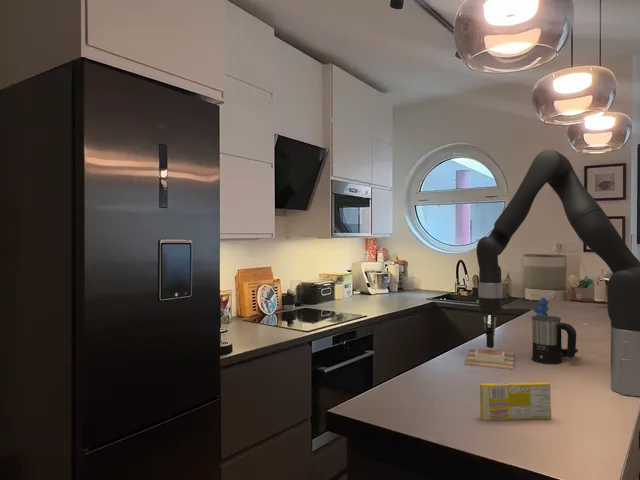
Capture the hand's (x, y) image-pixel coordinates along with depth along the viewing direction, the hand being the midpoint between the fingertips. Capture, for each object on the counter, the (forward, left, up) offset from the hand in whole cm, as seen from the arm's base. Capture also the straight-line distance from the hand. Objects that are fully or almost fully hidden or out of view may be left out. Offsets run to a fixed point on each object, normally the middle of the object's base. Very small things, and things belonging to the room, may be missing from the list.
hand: (490, 347), depth 158 cm
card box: (+4, 0, -3) cm, 5 cm away
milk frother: (+12, -20, -5) cm, 24 cm away
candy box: (-49, -8, -5) cm, 50 cm away
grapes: (+84, -19, -5) cm, 86 cm away
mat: (+3, 0, -5) cm, 6 cm away
